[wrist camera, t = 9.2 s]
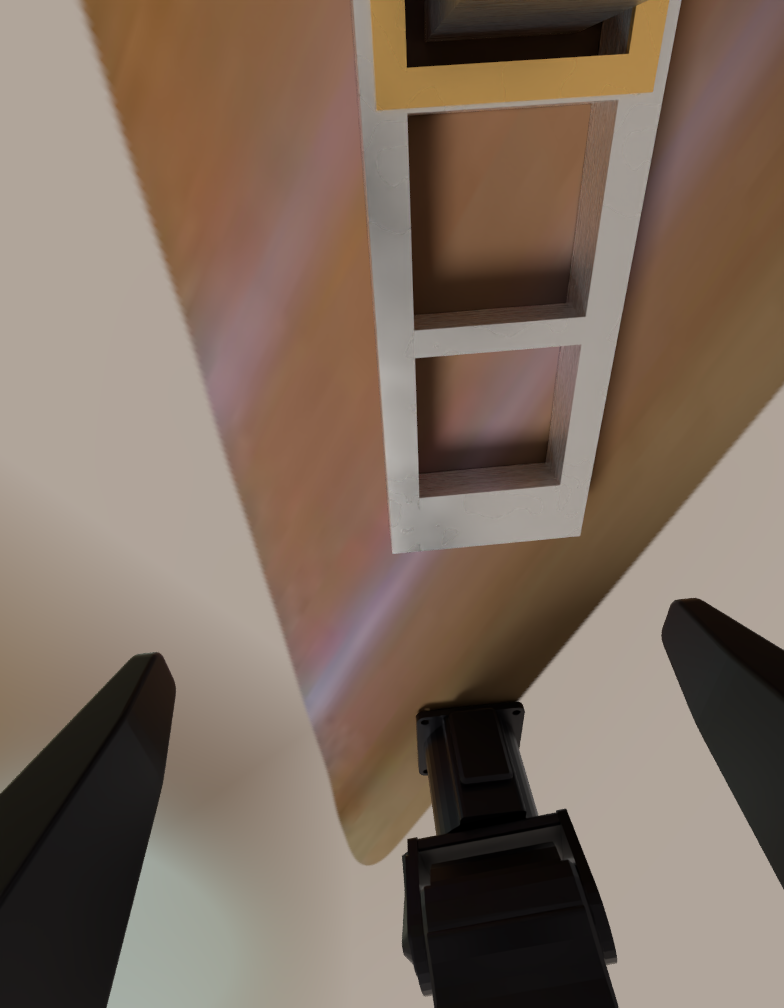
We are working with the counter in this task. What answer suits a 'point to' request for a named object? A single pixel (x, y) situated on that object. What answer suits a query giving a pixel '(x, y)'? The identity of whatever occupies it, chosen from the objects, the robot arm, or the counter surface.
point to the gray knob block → (515, 17)
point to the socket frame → (572, 325)
